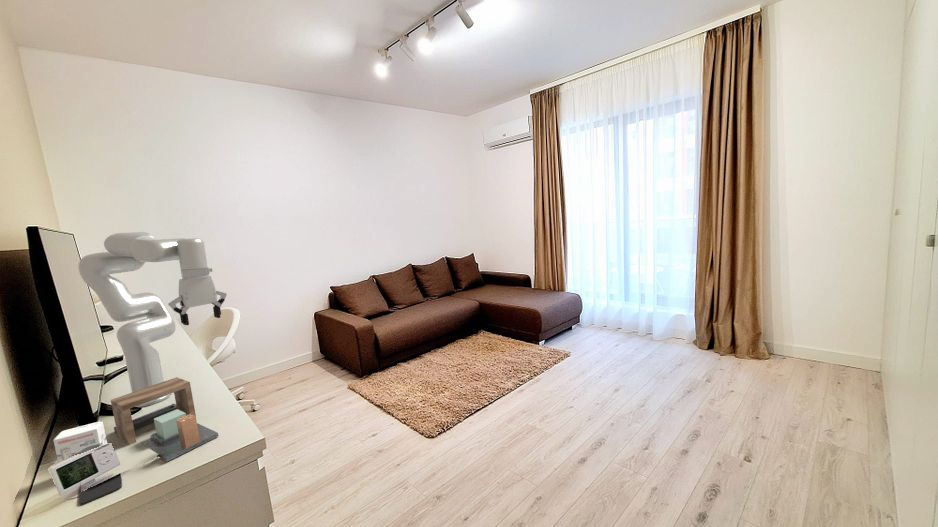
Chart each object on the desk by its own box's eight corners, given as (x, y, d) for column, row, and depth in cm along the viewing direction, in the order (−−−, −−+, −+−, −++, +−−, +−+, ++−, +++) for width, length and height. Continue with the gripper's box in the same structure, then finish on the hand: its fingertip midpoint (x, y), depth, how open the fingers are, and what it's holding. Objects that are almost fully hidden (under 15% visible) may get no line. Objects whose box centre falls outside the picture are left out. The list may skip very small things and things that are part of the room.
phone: (119, 462, 100) (122, 486, 90) (120, 465, 100) (122, 489, 90) (81, 477, 95) (78, 505, 84) (81, 480, 95) (79, 508, 84)
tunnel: (118, 440, 112) (110, 399, 111) (183, 413, 127) (176, 377, 125) (130, 448, 107) (122, 406, 105) (196, 419, 121) (189, 381, 120)
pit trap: (115, 435, 115) (113, 427, 115) (175, 411, 129) (174, 403, 128) (120, 439, 113) (118, 430, 112) (181, 414, 126) (179, 406, 126)
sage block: (157, 437, 110) (153, 418, 109) (180, 426, 115) (177, 409, 114) (165, 441, 107) (161, 423, 106) (189, 431, 112) (185, 413, 111)
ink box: (60, 482, 94) (50, 440, 93) (68, 472, 98) (59, 431, 97) (105, 468, 99) (97, 427, 97) (111, 459, 103) (103, 420, 101)
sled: (141, 445, 108) (135, 417, 107) (191, 423, 119) (187, 397, 118) (166, 462, 99) (160, 431, 98) (218, 436, 110) (213, 408, 109)
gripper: (217, 269, 135) (224, 314, 137) (160, 277, 121) (168, 326, 123) (227, 270, 131) (233, 315, 133) (169, 278, 117) (177, 329, 119)
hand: (202, 321), depth 128 cm, fingers open, 9 cm apart
